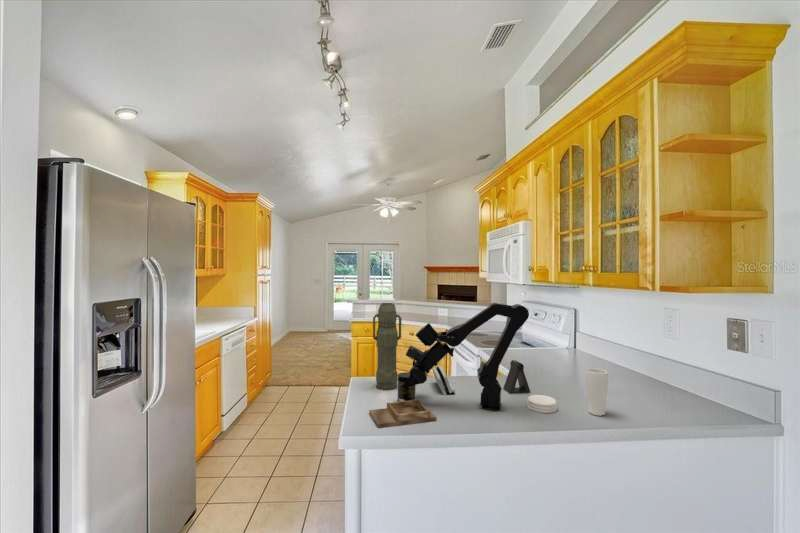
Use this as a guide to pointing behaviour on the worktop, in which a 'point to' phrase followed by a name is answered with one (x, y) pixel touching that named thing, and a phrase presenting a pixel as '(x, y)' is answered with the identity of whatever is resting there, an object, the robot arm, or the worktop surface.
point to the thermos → (386, 346)
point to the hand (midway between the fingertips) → (404, 383)
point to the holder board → (402, 414)
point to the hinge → (442, 380)
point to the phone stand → (513, 375)
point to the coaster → (542, 403)
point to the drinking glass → (597, 390)
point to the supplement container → (408, 392)
